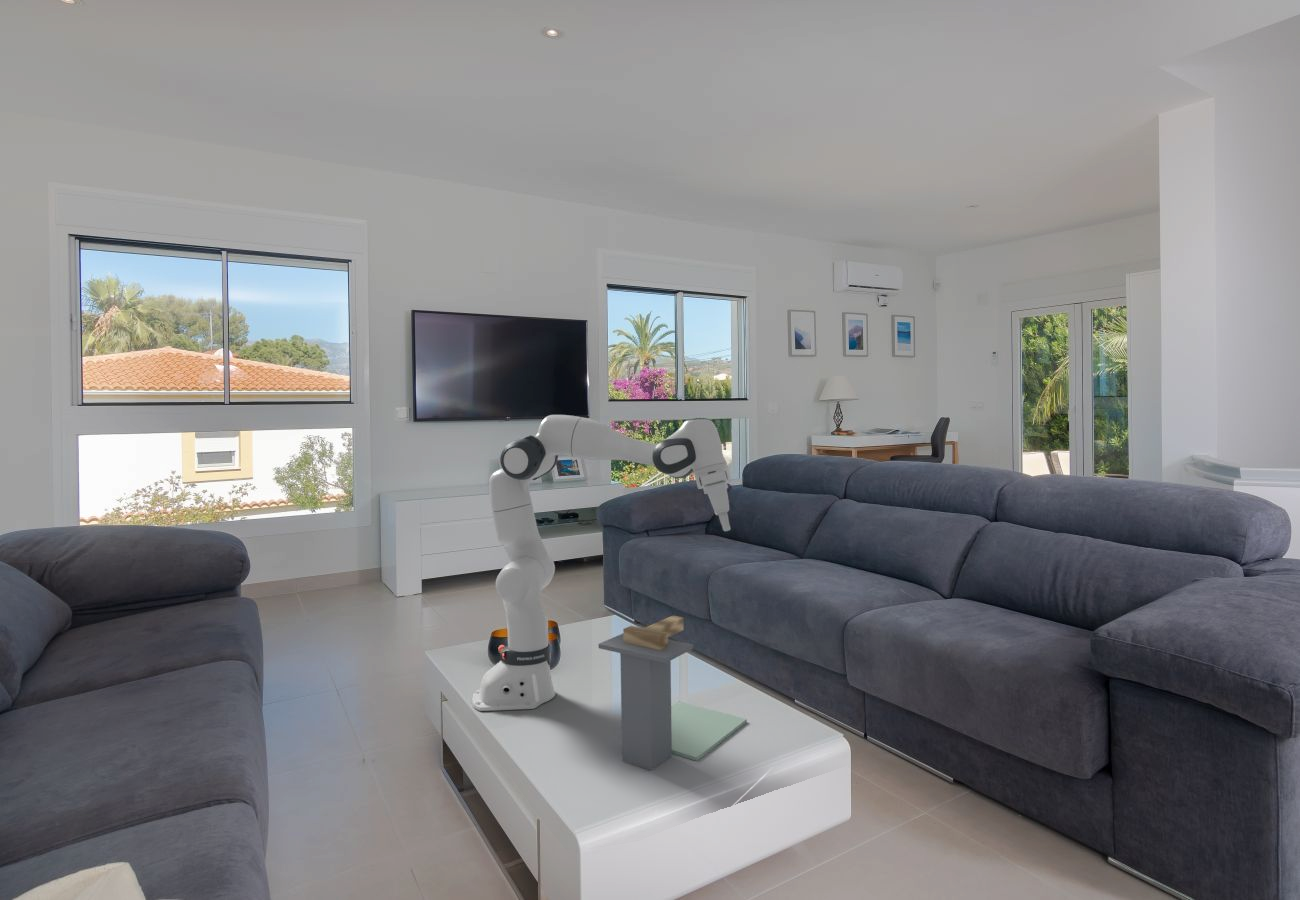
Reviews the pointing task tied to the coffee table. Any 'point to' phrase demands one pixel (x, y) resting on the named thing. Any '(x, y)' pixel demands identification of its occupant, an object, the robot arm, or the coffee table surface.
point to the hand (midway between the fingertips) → (727, 530)
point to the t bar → (654, 633)
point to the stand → (646, 700)
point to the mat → (699, 729)
